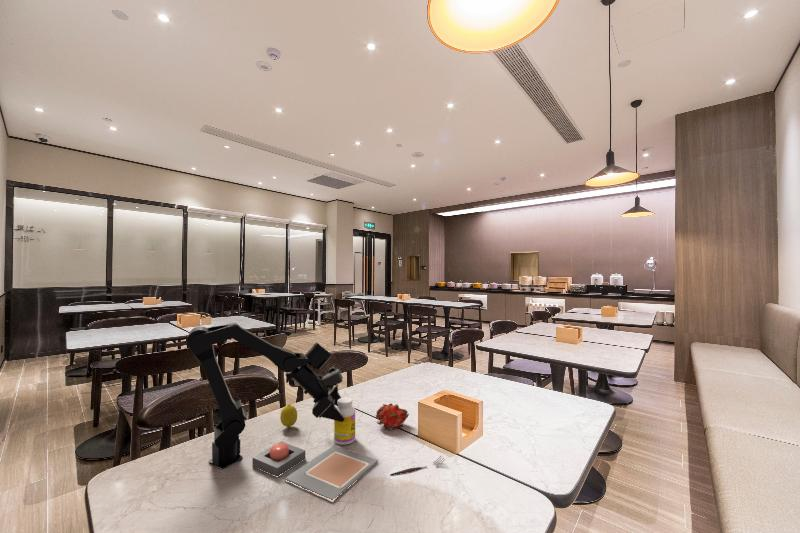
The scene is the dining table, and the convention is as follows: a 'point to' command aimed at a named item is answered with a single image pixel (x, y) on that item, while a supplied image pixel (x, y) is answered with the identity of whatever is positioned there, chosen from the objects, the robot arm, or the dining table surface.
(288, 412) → the lemon
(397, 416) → the dragon fruit
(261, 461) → the button frame
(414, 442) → the dining table surface
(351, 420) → the supplement bottle
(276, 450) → the button
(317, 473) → the picture board
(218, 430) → the robot arm
